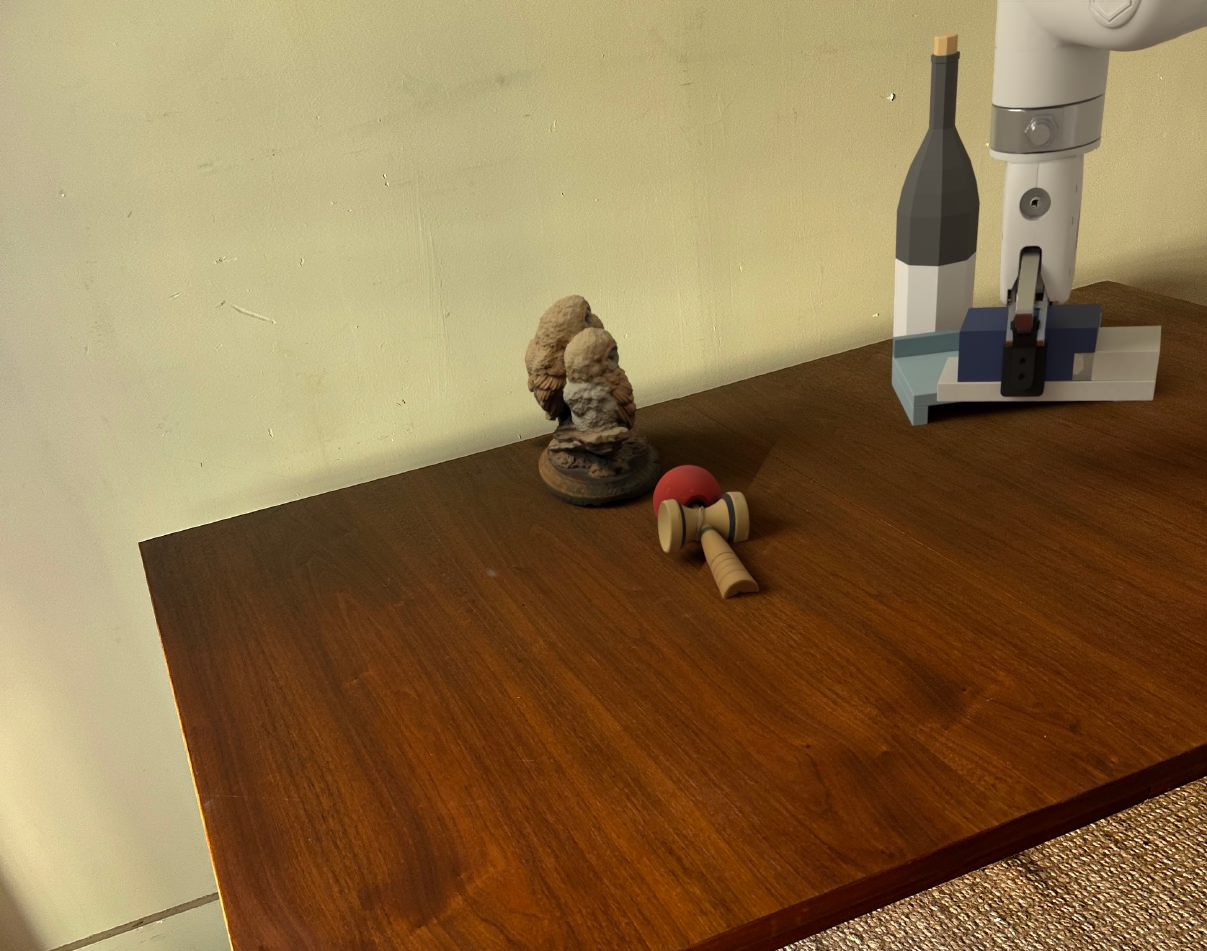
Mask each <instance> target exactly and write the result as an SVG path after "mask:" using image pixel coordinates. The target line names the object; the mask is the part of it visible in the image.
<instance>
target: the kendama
mask: <svg viewBox="0 0 1207 951" xmlns="http://www.w3.org/2000/svg"><path fill="white" fill-rule="evenodd" d="M652 507H653V512H654V515H655V517H656V520H657V529H658V537H659V543H660V546H661V549H662V550H663V552H664V553H666V554H678V553H679V552H680V551H681V550H682V549H683V548H684V547H685V546H686V545H687V544H688V543H690V542H693V541H697V542H701V547H702V549H703V553H704V556H705V560H706V562H707V565H708V567H709V569H710V571H711V574H712V577H713V579H714V581H715V583H716V585H717V588H718V590H719V592H720V595H721V598H722V599H723V600H727V599H728V598H730V597H733V596H735V595H738V594H744V593H749V592H750V593H751V592H753V593H755V592H756V593H757V592H760V587H759V585H758V583H757V581H755V579H754V578H753V576H751V574H750V573H749V571H748V570H747V569H746V567H745V566H744V564H743V563H742V561H741V560H740V559H739V557H738V556H737V554H736V553H735V552H734V550H733V549H732V548H731V546H730V545H729V543H728V542H731V543H740V542H745V541H747V540H748V539H749V534H750V514H749V513H750V512H749V507H748V504H747V499H746V497H745V496H744V494H743V493H742V492H741V491H728V492H725V493H724V494H723V493H722V490H721V486H720V484H719V483H718V480H717V479H716V478H715V477H714V475H713V474H712V473H711V472H709V471H708V470H706V469H705V468H703V467H701V466H697V465H693V464H684V465H679V466H676V467H674V468H672V469H670V470H669V471H667V472H666V473H664V474H663V476H662V477H661V478H659V480H658V481H657V483H656V485H655V489H654V492H653V497H652Z"/></svg>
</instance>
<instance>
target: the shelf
mask: <svg viewBox="0 0 1207 951" xmlns="http://www.w3.org/2000/svg"><path fill="white" fill-rule="evenodd" d="M1102 319H1103V314H1102V313H1101V314H1100V323H1099V327H1101V325H1102ZM959 332H960V329H953V330H945V331H937V332H929V333H921V334H913V335H905V336H897V337H893V336H892V357H891V358H892V359H891V361H892V362H891V366H892V367H891V386H892V388H893V390H894V392H895V394H896V396H897V398H898V400H899V402H900V404H901V405H902V408H903V409H904V412H905V414H906V416H907V418H908V420H909V421H910V423H911V425H912V426H921V425H927V424H928V417H929V407H931V406H937V405H945V404H953V403H962V402H964V401H948V402H938V401H937V388H938V382H939V379H940V377H941V374H942V372H943V370H944V367H945V365H946V362H947V360H948V357H958V355H959ZM1114 402H1115V403H1117V402H1119V401H1113V403H1114Z"/></svg>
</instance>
